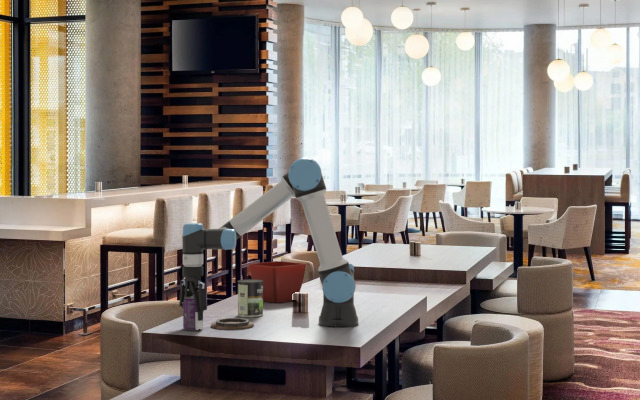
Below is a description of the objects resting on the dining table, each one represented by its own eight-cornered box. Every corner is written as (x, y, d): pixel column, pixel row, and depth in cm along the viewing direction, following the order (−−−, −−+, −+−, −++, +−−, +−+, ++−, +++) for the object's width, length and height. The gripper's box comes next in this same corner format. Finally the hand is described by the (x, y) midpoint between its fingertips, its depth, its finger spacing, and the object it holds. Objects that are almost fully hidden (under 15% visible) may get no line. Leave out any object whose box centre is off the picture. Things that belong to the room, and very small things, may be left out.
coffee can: (266, 313, 341) (266, 279, 341) (259, 317, 331) (259, 282, 331) (241, 312, 343) (241, 278, 343) (234, 317, 333) (234, 281, 333)
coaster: (262, 326, 312) (262, 321, 312) (227, 331, 301) (227, 326, 301) (236, 320, 324) (236, 315, 324) (202, 325, 313) (202, 320, 313)
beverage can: (193, 327, 310) (193, 294, 310) (206, 329, 306) (206, 296, 305) (179, 329, 305) (179, 296, 304) (192, 331, 300) (192, 298, 300)
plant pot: (247, 300, 378) (247, 263, 378) (280, 296, 391) (280, 260, 391) (274, 305, 364) (274, 266, 364) (307, 301, 377) (307, 263, 377)
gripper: (169, 264, 309) (169, 325, 310) (199, 268, 295) (200, 332, 295) (186, 262, 315) (186, 323, 315) (217, 266, 300) (217, 330, 300)
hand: (193, 327), depth 305 cm, fingers closed on beverage can, 7 cm apart
